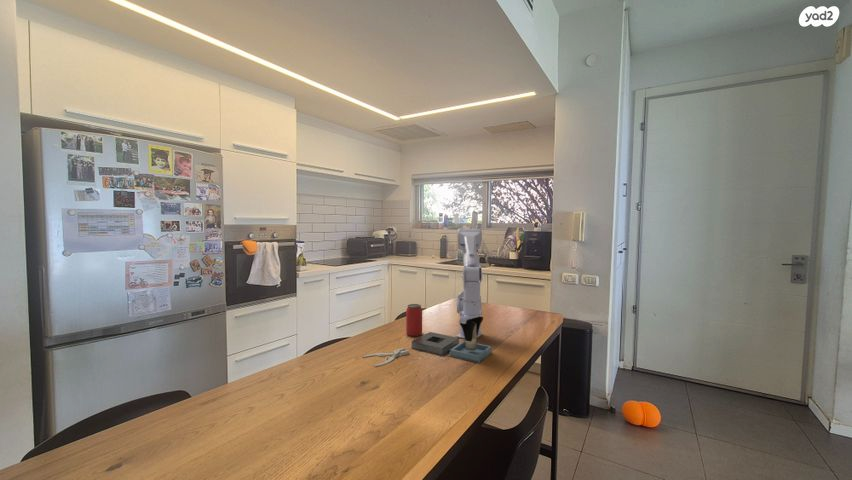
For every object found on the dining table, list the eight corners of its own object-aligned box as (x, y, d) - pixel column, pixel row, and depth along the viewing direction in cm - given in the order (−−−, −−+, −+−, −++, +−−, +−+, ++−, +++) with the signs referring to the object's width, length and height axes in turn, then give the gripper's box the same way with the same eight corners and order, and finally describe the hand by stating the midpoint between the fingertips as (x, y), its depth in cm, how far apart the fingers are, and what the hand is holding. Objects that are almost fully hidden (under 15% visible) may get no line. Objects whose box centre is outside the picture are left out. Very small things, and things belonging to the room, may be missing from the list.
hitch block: (429, 338, 138) (430, 331, 138) (459, 344, 131) (459, 337, 131) (411, 347, 127) (411, 341, 127) (442, 355, 120) (442, 348, 120)
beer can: (421, 336, 139) (422, 307, 139) (405, 336, 139) (405, 307, 139) (422, 331, 146) (422, 303, 145) (406, 331, 146) (406, 303, 145)
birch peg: (468, 345, 124) (467, 321, 124) (478, 347, 122) (478, 322, 122) (463, 349, 121) (462, 323, 120) (473, 351, 119) (473, 325, 118)
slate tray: (463, 346, 129) (463, 340, 129) (491, 352, 123) (491, 346, 123) (449, 356, 120) (449, 349, 119) (479, 363, 114) (479, 356, 114)
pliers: (362, 353, 118) (399, 344, 127) (362, 358, 118) (399, 349, 127) (375, 363, 110) (414, 353, 119) (375, 368, 110) (414, 357, 119)
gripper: (470, 295, 129) (469, 331, 129) (451, 303, 116) (451, 342, 117) (487, 297, 125) (487, 334, 126) (471, 306, 113) (470, 346, 113)
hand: (471, 338), depth 121 cm, fingers closed on birch peg, 4 cm apart
